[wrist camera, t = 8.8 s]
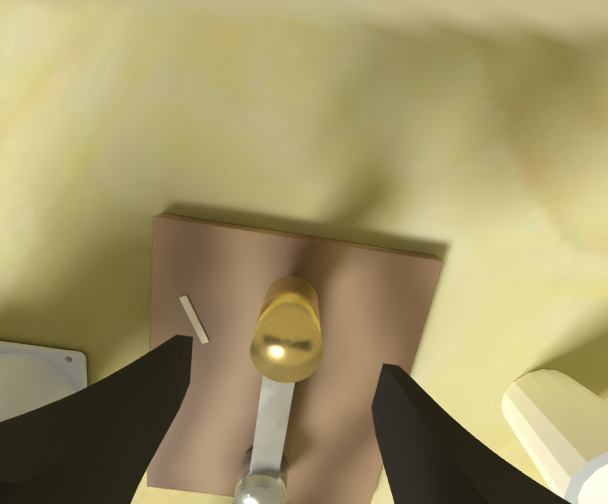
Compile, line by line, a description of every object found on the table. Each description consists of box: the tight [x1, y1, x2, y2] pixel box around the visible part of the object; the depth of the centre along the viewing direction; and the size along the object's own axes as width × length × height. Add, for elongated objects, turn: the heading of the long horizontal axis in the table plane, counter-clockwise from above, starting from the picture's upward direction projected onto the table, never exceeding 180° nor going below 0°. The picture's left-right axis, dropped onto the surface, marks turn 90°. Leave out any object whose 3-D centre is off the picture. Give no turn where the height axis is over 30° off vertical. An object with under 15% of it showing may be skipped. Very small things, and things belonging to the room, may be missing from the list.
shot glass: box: [501, 369, 608, 504], centre depth 21 cm, size 7×7×7 cm
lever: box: [233, 275, 323, 504], centre depth 18 cm, size 4×18×7 cm, turn 171°
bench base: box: [147, 213, 443, 504], centre depth 23 cm, size 18×22×1 cm
